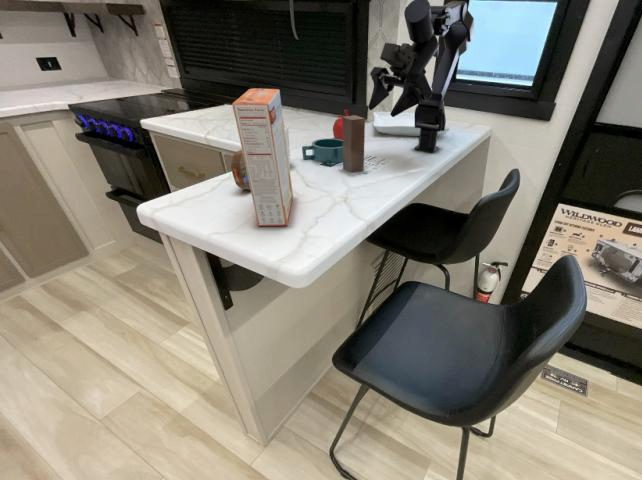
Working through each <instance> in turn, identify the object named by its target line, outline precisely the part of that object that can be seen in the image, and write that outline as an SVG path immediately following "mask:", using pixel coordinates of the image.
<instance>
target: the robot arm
mask: <svg viewBox="0 0 642 480" xmlns="http://www.w3.org/2000/svg"><path fill="white" fill-rule="evenodd" d="M403 16H404V20H405V25H406V28H407V32H408V37H409V40H410V41H411V42H412V43H411V45H410V43H405V42H403V43H402V44H401V45H400V44H397V43H390V42H385V43H384V45H383V47H382V51H381V53H380V57H379V59H380V60H381V61H383V62H386V63H387V64H388V65H390V66H389V68H388V69H389V70H390V71H391V72H389V70H388V69H387V67H383V66H374V67H373V68H372V70H371V71H370V72H369V76H370V77H371V80H372V82H373V89H372V93H371V95H370V96H371V97H370V100H369V103H368V106H367V107H368V110H369V111H373V110H374V109H375V108H377V106H379V105H380V104H381V103H382V102H383V101H385V100H386V99H387V98H388V97H389V96H390V92H392V91H393V89H394V88H395V87H398V88H401V89H402V93H401V95H400V96H399V98H398V99H397V101H396V103H395V104H394V106H393V108H392V109H391V111H390V112H391V116H392V117H395V116H396V115H398V114H400V113H402V112H406V111H407V110H409V109H411V108H413V107H415V106H416V107H415V109H414V113H415V128H420V135H419V136H418V143H417V144H418V145H416V146H415V147H414V151H421V152H426V153H434V152H436V151H437V150H438V149H439V148H440V146H439V145H437V140H438V136H439V135H438V131H439V132H440V131H444V130H445V124H447V119H446V111H445V102H444V101H445V100H444V99H445V96H446V93H447V91H448V87H449V85H450V81H451V79H452V77H453V74H454V71H455V68H456V65H457V63H458V61H459V58H460V57H461V55H463V54H465V52H466V51H468V49H469V46H470V45H471V43H472V42H473V39H474V36H475V18H474V17H473V15H472V14H471V12H470V11H469V10H468V3H467V2H466V1H463V0H451V1H449V2H447V3H445V4H443V5H431V4H430V2H429V0H412V1H411V2H410V3H408V5H407V6H406V7H405V9H404V12H403ZM438 37H443V41H444V42H443V43H444V51H443V54H442V56H441V59H440V62H439V65H438V67H437V70H436V72H435V74H434V78H433V81H432V83H431V84H430V82H429V80H428V78H427V76H426V73H427V70H426V67H427V66H428V64H429V63H430V61H431V60H432V59H433V57H434V58H435V59H436V58H438V57H439V53H440V51H439V49H440V48H439V47H440V44H439V41H438ZM390 73H392V74H390ZM438 125H439V126H438Z"/></svg>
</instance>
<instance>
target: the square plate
mask: <svg viewBox="0 0 642 480" xmlns="http://www.w3.org/2000/svg"><path fill="white" fill-rule="evenodd" d="M391 112H392V111H373V113H372V114H373V123H372V124H373V125H372V126H373V127H374V128H375V130H376V131H377V132H379V133H383V134H385V135H390V136H409V137H410V136H412V137H419V135H420V128H415V112H410V111H409V112H408V111H403V112H402V113H400V114H398V115H396V116H395V117H392V116H391ZM438 126H439V125H438ZM450 130H451V128H450V127H449V126H448V124H447V123H446V124H445V130H444V131H440V132H439V131H438V136H443V135H445V134H447V133H448V132H449V131H450Z"/></svg>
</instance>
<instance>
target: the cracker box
mask: <svg viewBox="0 0 642 480" xmlns="http://www.w3.org/2000/svg"><path fill="white" fill-rule="evenodd" d="M231 105H232V111H233V114H234V117H235V123H236V128H237V133H238V137H239V141H240V146H241V149H242V152H243V156H244V161H245V166H246V171H247V175H248V180H249V185H250V189H251V190H250V193H251V198H252V203H253V209H254V212H255V217H256V222H257V226H258V227H281V226H283V227H285V226H288V223H289V219H290V214H291V209H292V205H293V199H294V193H293V185H292V184H293V183H292V177H291V176H292V175H291V168H290V166H289V160H288V153H287V145H286V137H285V129H284V125H285V121H284V115H283V107H282V105H283V104H282V99H281V91H280V89H279V88H277V89H276V88H260V87H258V88H255V87H254V88H249V89H247V91H245V92H244V93H243V94H241V96H240V97H238V98H237V99H235V101H233V102H232V103H231Z"/></svg>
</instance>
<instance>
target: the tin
mask: <svg viewBox="0 0 642 480" xmlns="http://www.w3.org/2000/svg"><path fill="white" fill-rule="evenodd" d="M230 169H231V173H232V177H233V180H234V182H235V185H236V186H237V187H238V188H239V189H240V190H247V191H248V190H249V191H251V189H250V185H249V180H248V175H247V171H246V166H245V161H244V156H243V152H242V148H241V149H239V150H237V151H236V152H234V154H233V156H232V157H231V163H230Z"/></svg>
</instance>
